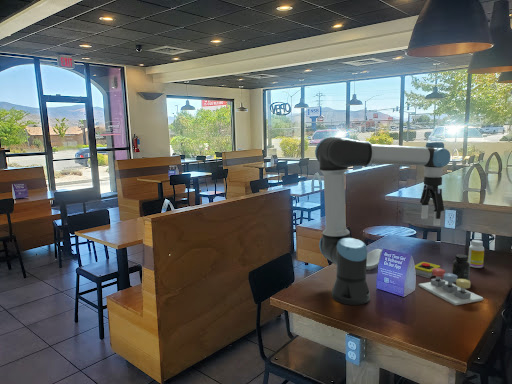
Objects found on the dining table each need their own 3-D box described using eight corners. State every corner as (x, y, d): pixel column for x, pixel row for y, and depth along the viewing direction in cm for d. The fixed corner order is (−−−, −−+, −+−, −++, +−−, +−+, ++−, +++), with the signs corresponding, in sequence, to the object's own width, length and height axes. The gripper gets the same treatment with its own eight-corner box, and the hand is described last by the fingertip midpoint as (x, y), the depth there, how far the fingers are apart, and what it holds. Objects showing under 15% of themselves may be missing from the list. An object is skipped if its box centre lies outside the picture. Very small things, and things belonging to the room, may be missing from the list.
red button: (437, 281, 162) (438, 272, 161) (429, 277, 167) (429, 268, 166) (447, 280, 164) (447, 271, 163) (438, 276, 168) (438, 267, 168)
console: (455, 305, 148) (455, 298, 148) (418, 286, 167) (419, 279, 166) (483, 300, 152) (483, 293, 152) (444, 281, 171) (444, 275, 171)
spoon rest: (370, 274, 182) (370, 259, 181) (349, 268, 191) (349, 254, 190) (395, 262, 198) (395, 249, 197) (374, 257, 206) (375, 244, 205)
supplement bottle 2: (485, 268, 187) (488, 243, 185) (472, 268, 187) (474, 243, 185) (478, 263, 194) (480, 239, 192) (465, 263, 194) (466, 239, 192)
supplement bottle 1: (466, 279, 174) (468, 254, 172) (470, 285, 167) (472, 258, 165) (450, 278, 176) (451, 252, 174) (453, 283, 169) (455, 257, 167)
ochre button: (463, 293, 150) (463, 284, 149) (452, 289, 155) (453, 279, 154) (472, 292, 151) (473, 282, 151) (462, 287, 156) (463, 278, 155)
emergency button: (409, 264, 182) (424, 258, 192) (409, 273, 183) (424, 266, 193) (429, 270, 175) (443, 262, 185) (428, 279, 176) (443, 271, 186)
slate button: (449, 287, 156) (450, 278, 155) (440, 283, 161) (441, 274, 160) (459, 286, 157) (460, 276, 157) (450, 281, 162) (450, 272, 162)
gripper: (454, 179, 160) (451, 228, 164) (430, 173, 185) (427, 216, 188) (436, 179, 161) (433, 228, 164) (414, 173, 185) (412, 216, 189)
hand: (430, 222), depth 176 cm, fingers open, 13 cm apart
